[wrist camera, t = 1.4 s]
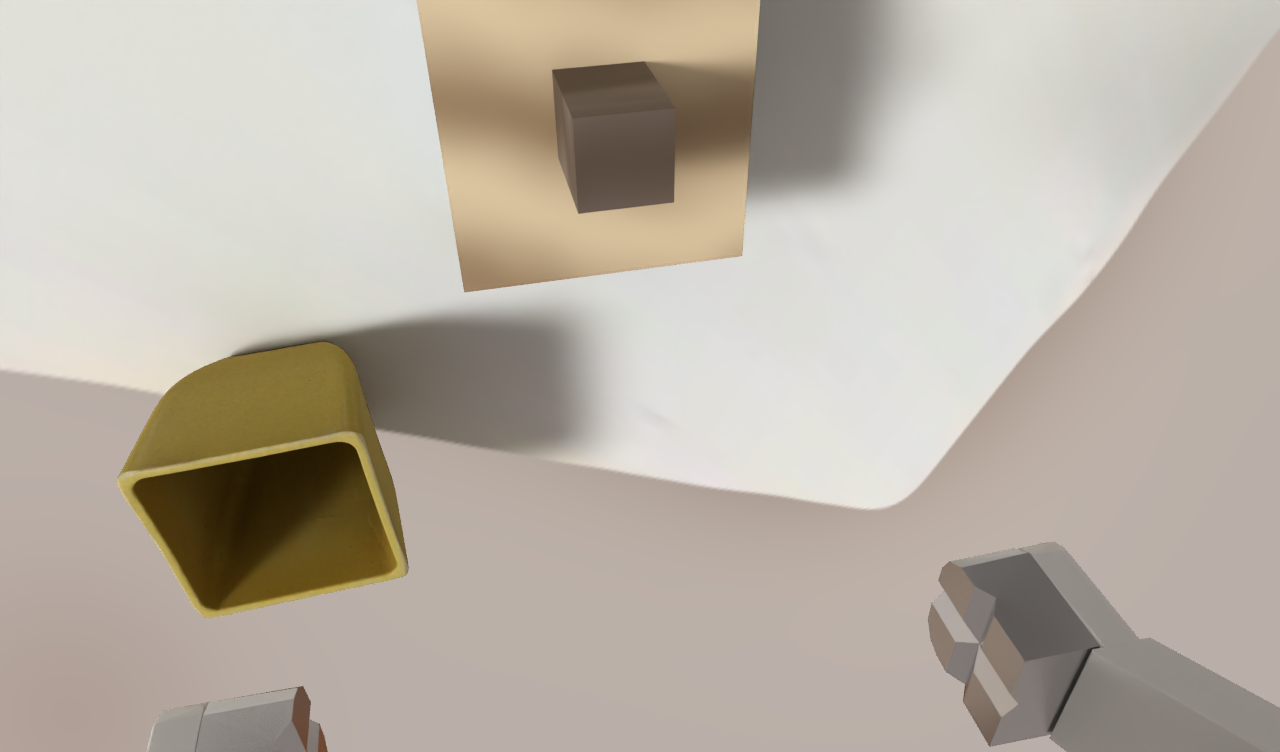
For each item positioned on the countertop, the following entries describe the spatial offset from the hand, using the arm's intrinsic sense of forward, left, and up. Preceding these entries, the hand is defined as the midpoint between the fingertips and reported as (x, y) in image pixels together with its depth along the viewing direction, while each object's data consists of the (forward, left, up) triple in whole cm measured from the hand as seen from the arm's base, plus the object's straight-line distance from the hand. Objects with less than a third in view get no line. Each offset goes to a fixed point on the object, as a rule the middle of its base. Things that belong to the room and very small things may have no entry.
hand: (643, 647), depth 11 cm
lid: (+2, +3, -23) cm, 24 cm away
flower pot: (+17, -11, -29) cm, 35 cm away
